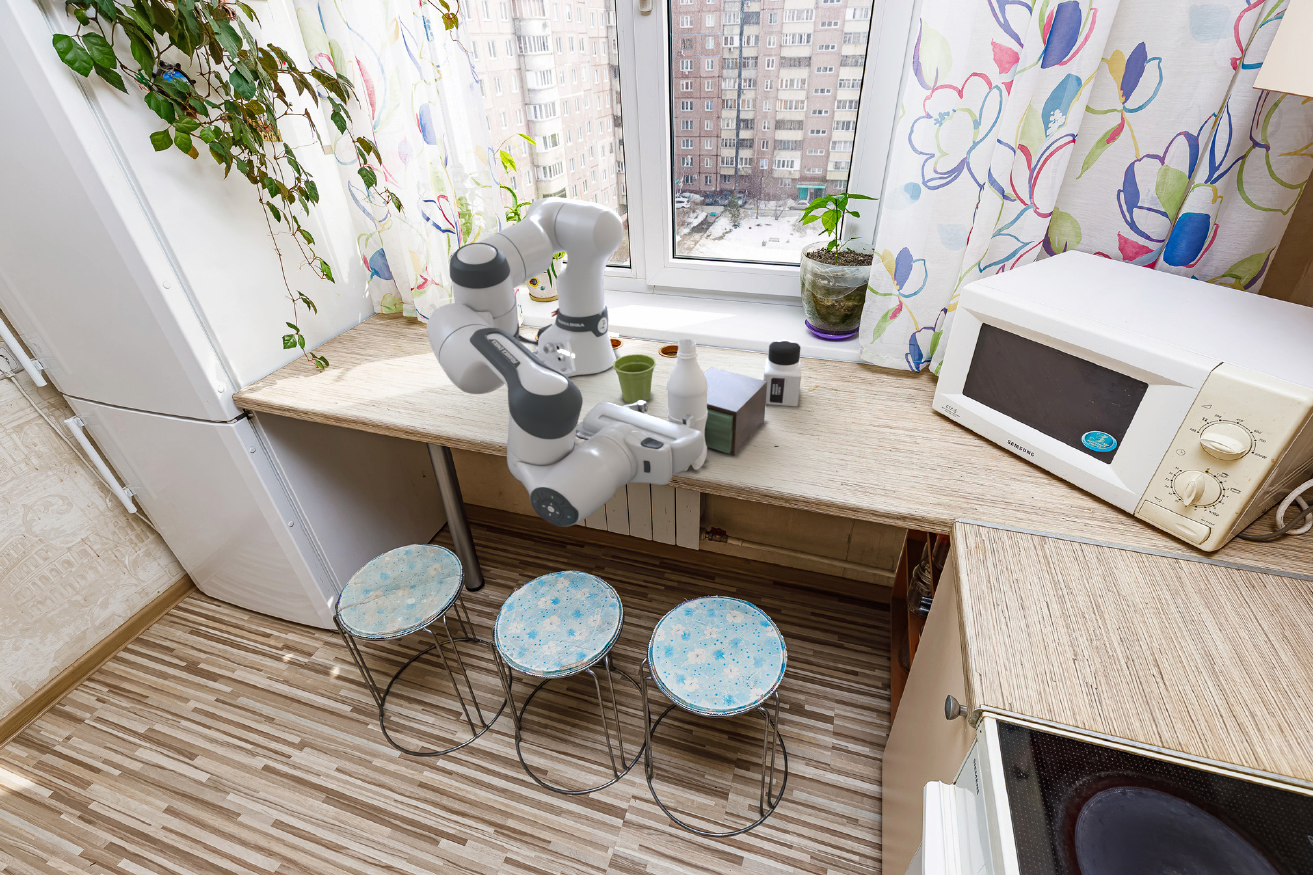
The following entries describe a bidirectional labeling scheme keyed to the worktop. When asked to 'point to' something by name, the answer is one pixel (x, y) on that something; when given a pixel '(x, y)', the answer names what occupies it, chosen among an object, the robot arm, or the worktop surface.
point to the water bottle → (688, 392)
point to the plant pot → (635, 376)
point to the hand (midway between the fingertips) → (667, 411)
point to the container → (783, 373)
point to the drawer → (719, 431)
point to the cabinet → (737, 402)
